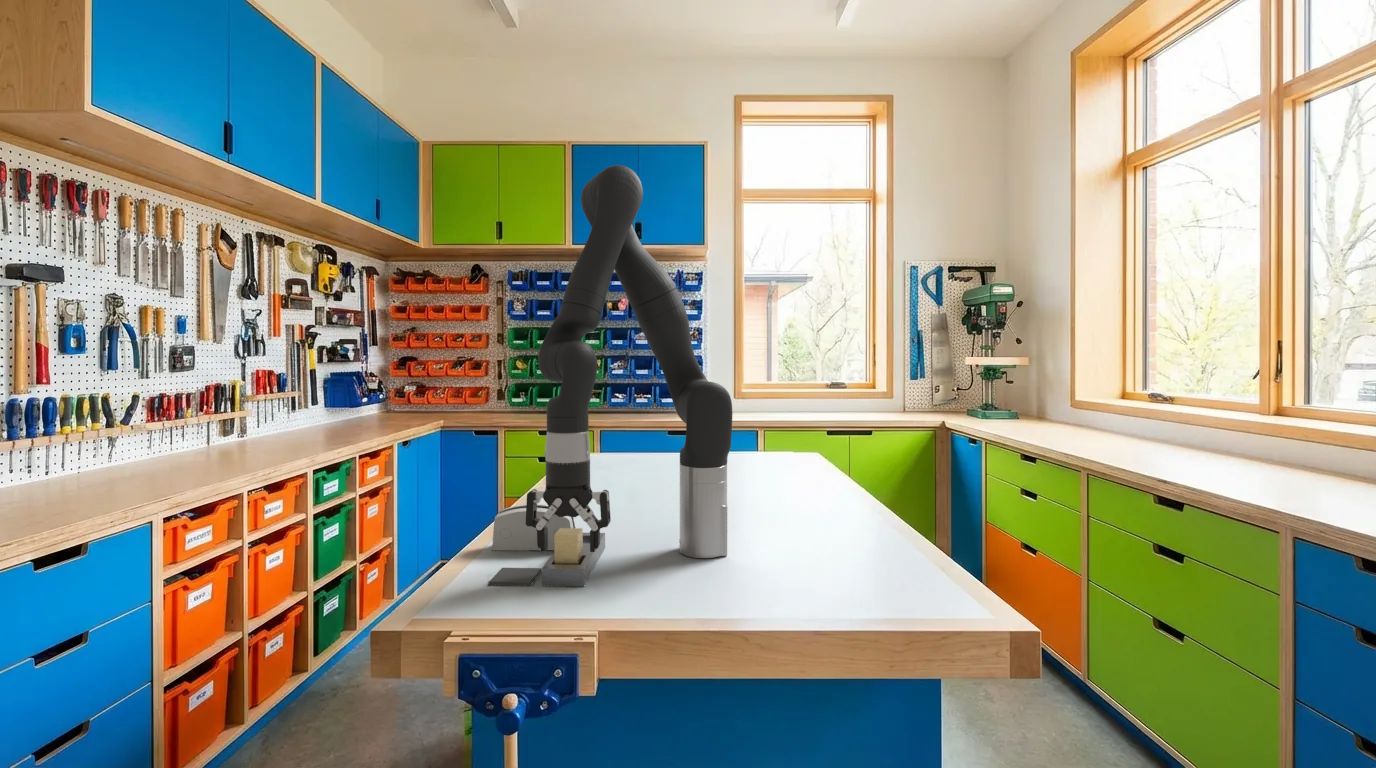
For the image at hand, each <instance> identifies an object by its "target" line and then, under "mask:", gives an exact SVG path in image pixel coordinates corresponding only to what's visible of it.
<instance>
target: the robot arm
mask: <svg viewBox="0 0 1376 768" xmlns="http://www.w3.org/2000/svg"><path fill="white" fill-rule="evenodd" d="M639 177H640V176H638V175H637V173H636V172H635V171H634V170H633V169H631V168H630V167H627V166H626V165H622V164H615V165H610V166H608V167H606V168H605V169H602V170H601V171H600V172H598V173H597V174H596V175H595V176H593V177H592V178H591V179H590V180H589V181H588V182H586V183H585V185H584V186H583V188H582V190H581V195H580V203H581V204H580V205H581V207H582V211H583V214H584V216H585V218H586V219H587V221H588V223H589V225H590V226H591V230H590V233H589V235H588V238H587V240H586V242H585V244H584V247H583V249H582V251H581V252H580V255H579V257H578V258H577V261H576V263H575V264H574V267H573V269H572V271H571V273H570V276H569V279H568V282H567V284H566V288H565V290H564V293H563V294H564V295H563V298H562V301H561V306H560V308H559V309H560V310H559V313H558V314H557V315H556V318H555V319H554V321H553V322H552V324H551V326H550V328H549V330H548V331H547V332H546V335H545V337H544V339H543V340H542V343H541V346H540V348H539V351H538V356H537V357H538V359H537V362H538V365H537V366H538V369H539V371H540V374H541V375H542V376H543V377H544V378H545V379H546V380H548V381H552V382H560V383H561V385H560V390H559V394H558V395H557V396H554V397H552V398H550V399H549V400H548V402H547V405H546V439H545V446H544V447H545V448H544V449H545V451H544V457H545V458H544V459H545V490H544V491H541V490H538V489H536V488H534V489H533V488H532V489H531V490H530V491H529V492H527V493H526V503H525V504H526V525H527V526H528V527H530V526H531V527H534V528H536V530H537V546H538V548H541V551H540V552H547V551H546V550H547V549H548V527H546V524H547V523H548V522H549V520H550V519H551V518H552V517H553V515H554V514H555V515H557V516H558V517H564V516H569V517H574V518H577V517H578V516H579V517H580V518H581V519H582V520H583V522H585V523H586V524H587V526H588V527H589V528H590V530H589V533H590V552H595V550H596V549H598V547H599V545H600V533H601V529H603V528H607V527H608V526H609V525H610V524H611V521H612V520H611V506H610V505H611V504H610V492H609V490H608V489H603V490H602V491H593V490H592V488H591V442H590V441H591V440H590V434H589V406H590V401H591V399H592V394H593V390H594V386H595V382H596V378H597V374H598V359H597V355H596V352H595V350H594V349H593V347H592V346H591V345H590V344H589V343H588V342H586V341H582V339H583V338H584V337H585V336H586V335H588V334H590V333H592V332H594V331H595V330H596V329H597V328H598V326H599V323H600V322H601V317H602V314H603V310H604V306H605V301H606V299H607V295H608V291H609V287H610V284H611V281H612V276H613V274H614V271H615V273H616V275H617V278H618V280H619V282H620V284H621V287H622V288H623V290H624V293H625V294H626V297H627V300H628V302H629V304H630V305H629V306H630V307H631V309H632V311H633V313H634V316H635V318H636V320H637V323H638V325H639V327H640V329H641V330H642V333H643V334H644V337H645V339H646V340H647V343H648V346H649V347H650V349H651V351H652V353H653V354H654V356H655V359H656V361H657V362H658V364H659V367H660V369H661V371H662V374H663V376H664V379H665V381H666V385H667V388H668V391H669V394H670V397H671V400H672V403H673V406H674V409H675V411H676V414H677V416H678V417H679V419H680V420H681V421H682V422H683V423H685V442H684V445H683V447H682V448H681V449H680V451H679V541H678V542H679V553H680V554H681V555H684V556H686V557H689V558H697V559H712V558H717V557H727V556H728V456H729V453H730V451H731V447H732V435H733V433H732V432H733V431H732V430H733V404H732V398H731V395H730V393H729V392H728V390H727V389H726V387H724V386H723V385H721V384H720V383H716V382H713V381H709V380H708V379H707V377H706V376H705V374H704V371H703V369H702V368H701V365H700V364H699V362H698V360H697V357H696V355H695V351H694V348H693V344H692V343H693V342H692V338H691V337H692V336H691V329H690V323H689V322H690V321H689V318H688V313H687V310H686V307H685V305H684V302H683V300H682V297H681V296H680V295H681V294H680V293H679V290H678V288H677V286H676V284H675V282H674V280H673V278H672V277H671V276H670V274H669V273H668V272H667V271H666V269H665V268H664V267H663V266H662V265H661V264H660V263H658V261H657V260H656V259H655V258H654V257H653V256H652V255H651V254H650V253H649V252H648V251H647V250H646V248H645V247H644V246H643V244H642V243H641V241H640V238H639V237H638V235H637V232H636V231H635V228H634V226H633V222H634V220H635V218H636V217H637V214H638V212H639V210H640V208H641V206H642V205H641V204H642V202H643V197H644V189H643V185H642V181H641V180H640V178H639ZM542 499H543V500H544V502H545V504H548V506H549V509H548V510H547V511H546V513H545V514H544V515H543V517H542V518H541V520H540V519H538V518H536V517H537V504H540V503H541V500H542ZM592 500H595V503H596V504H597V505H598V506H599V507H600V509H599V510H600V511H599V512H600V519H598V518H597V516H596V515H595V512H594V511H593V509H592V508H591V506H589V504H590V503H591V502H592Z"/></svg>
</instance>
